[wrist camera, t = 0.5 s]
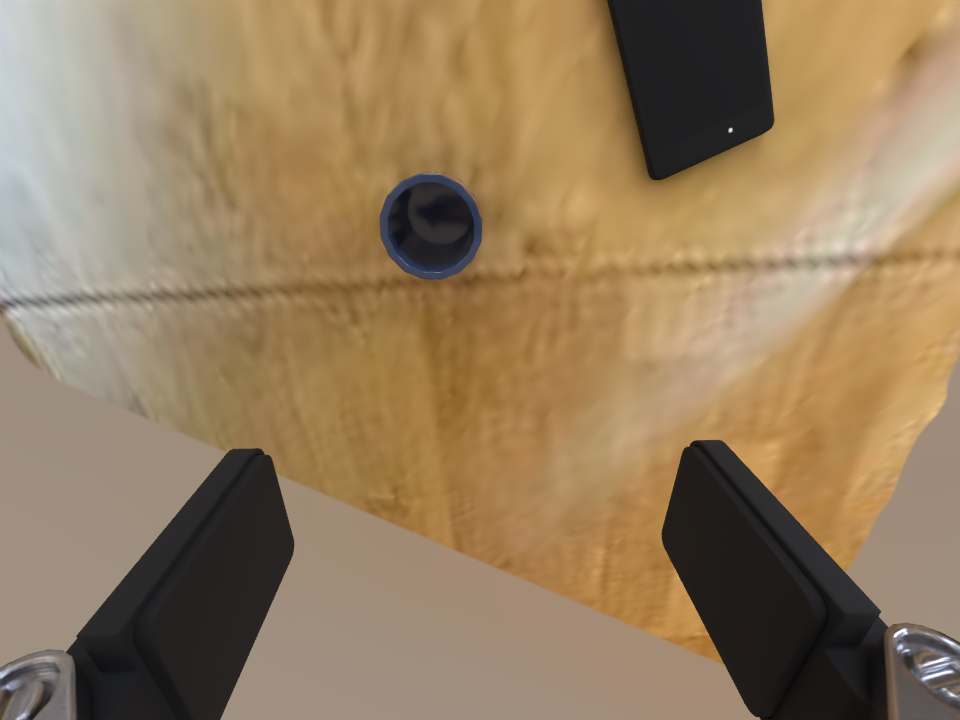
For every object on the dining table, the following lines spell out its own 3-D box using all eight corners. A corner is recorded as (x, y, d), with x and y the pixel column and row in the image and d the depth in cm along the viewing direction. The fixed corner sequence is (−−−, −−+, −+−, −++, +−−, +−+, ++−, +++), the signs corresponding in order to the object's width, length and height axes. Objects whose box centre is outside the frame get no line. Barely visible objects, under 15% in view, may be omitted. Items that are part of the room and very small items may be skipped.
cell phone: (727, -211, 23) (737, -225, 22) (767, 129, 30) (776, 128, 29) (575, -122, 24) (580, -133, 23) (649, 182, 32) (654, 183, 31)
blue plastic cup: (379, 191, 31) (361, 197, 26) (460, 157, 31) (459, 157, 25) (415, 272, 34) (406, 292, 29) (490, 243, 33) (495, 259, 28)
